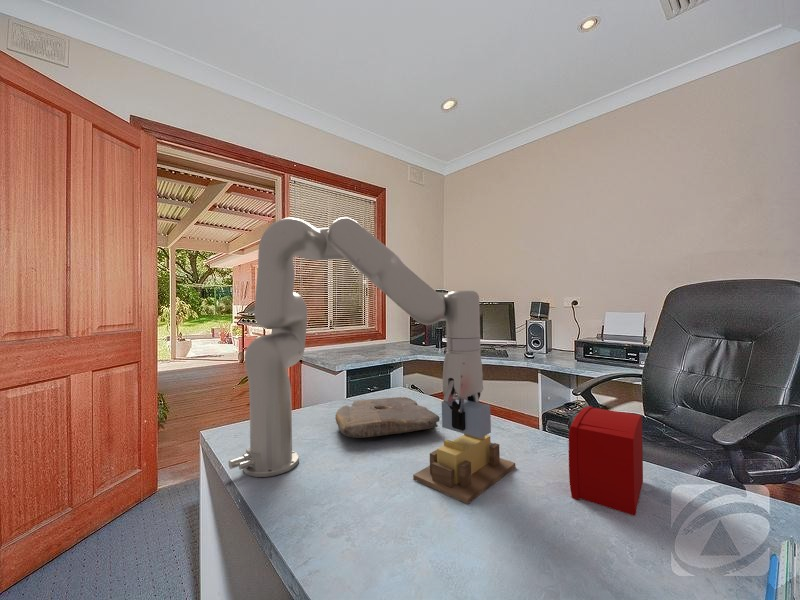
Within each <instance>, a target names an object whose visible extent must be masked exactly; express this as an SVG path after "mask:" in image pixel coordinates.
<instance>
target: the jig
mask: <svg viewBox="0 0 800 600" xmlns="http://www.w3.org/2000/svg"><path fill="white" fill-rule="evenodd" d="M490 444H491V445H490V446H489V459H490V462H489V463H488V464H486V465H485V466H483V467H482V468H480V469H479V470H477V471H476V472H474V473H473V474H472V475H471V462H469V461H467V460H466V461H464V462H462V463H461V464H459V478H460V483H458V484H457V485H456V484H454V469H452V468H449V467H447V466H444V465H441V464H439V463H437V449H436V450H433V451H431V452H430V453H429V465H428V466H427V467H425V468H424V467H423V469H421V470H419V471H417V472H416V473H414V474H412V475H413V476H412V477H413V478H412V479H413V480H414V481H417V482H418V483H421V484H423V485H424V486H427V487H430V488H432V489H433V490H436V491H438V492H440V493H443V494H445V495H447V496H449V497H451V498H453V499H456V500H458V501H460V502H461V503H464V504H466V505H468V504H470V503H472V501H474V500H475V499H476V498H478V497H479V496H480V495H482V494H483V493H484V492H485V491H487V490H488V489H489V488H491V487H493V485H494V484H496V483H497V482H498V481H500V480H501V479H502V478H504V477H505V476H506V475H507V474H509V473H510V472H511V471H513V470H514V469H515V468H516V462H514V461H511V460H508V459H504V458H502V457H500V455H501V454H500V444H499V443H498V442H497V443H496V442H490Z"/></svg>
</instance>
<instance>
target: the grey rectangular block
mask: <svg viewBox="0 0 800 600" xmlns="http://www.w3.org/2000/svg"><path fill="white" fill-rule="evenodd" d="M456 402H457V403H458V405H459V400H456ZM463 412H465V430H464V431H462V430H459V429H455V428H453V427H452V411H451V410H450V407H449V406H448V404H446V403H445V402H444V401H443V400H442V401H441V427H442V428H443V429H447V430H451V431H454V432H457V433H460V434H462V435H464V434H467V435H470V436H473V437H477V438H482V437H484V436H485V435H489V434H491V433H492V428H491V427H492V424H491V423H492V420H491V419H492V418H491V404H486V403H481V402H479V403H478V402H473V401H468V400H466V399H464V407H463Z"/></svg>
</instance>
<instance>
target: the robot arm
mask: <svg viewBox="0 0 800 600" xmlns="http://www.w3.org/2000/svg"><path fill="white" fill-rule="evenodd" d="M294 257H299V258H302V259H305V260H309V261H326V260H327V261H328V260H329V261H331V260H346V261H347V262H348V263H350V265H352V266H353V267H355V268H356V270H358V271H359V272H360V273H361V274H362V275H363V276H364V277H365V278H367V279H368V280H369V281H370V282H371V283H372V284H373V285H374V286H375V287H377V288H378V289H379V290H381V292H383V293H384V295H386V296H387V297H388V298H389V299H390V300H391V301H393V302H394V303H395V304H396V305H397V306H398V307H399V308H401V310H403V311H404V312H405V313H406V314H407V315H408V316H410V317H411V319H412V320H414V321H416V322H417V323H419V324H421V325H426V326H430V325H434V324H436V323H438V322H442V321H443V322H444V321H445V326H446V327H445V328H446V329H445V331H446V332H445V333H446V352H445V353H444V359H443V366H442V367H443V370H442V395H443V400H442V401H444V402H445V403H446V404H448V406H449V407H450V410H451V411H452V427H453V428H455V429H459V430H462V431H464V430H465V412H463V407H464V400H468V401H473V402H478V403H480V398H481V394H482V392H483V391H484V382H483V381H484V377H483V376H484V373H483V372H484V371H483V363H482V356H481V323H480V322H481V320H480V319H481V316H480V296H479V293H478V292H477V291H475V290H453V291H449V292H439V291H436V290H435V289H434V288H433V287H431V286H430V284H427V282H426V281H424V280H423V279H422V278H421V277H419V275H417V274H416V273H415V272H413V271H412V270H411V268H409V267H408V266H407V265H406V264H405V263H404V262H403V261H402V260H401V258H400V257H399V256H398V255H397V254H395V252H394V251H392V250H391V249H390V248H388V247H387V246H386V245H385V244H384V243H383V242H381V240H379V239H378V237H376V236H374V235H373V234H372V233H371V231H368V229H366V228H365V227H364V226H362V225H361V224H360V223H359V222H358V221H357V220H355V219H353V218H350V217H345V216H344V217H343V216H342V217H340V218H337V219H336V220H334V221H333V222H332V223H330V225H329V227H323V228H317V227H315V226H314V225H312V224H310V223H309V222H307V221H305V220H303V219H300V218H298V217H297V218H296V217H285V218H282V219H278V220H277V221H275V222H273V223H272V224H271V225H269V226H268V227H267V228H266V229H265V231H264V232H263V234H262V236H261V238H260V241H259V244H258V257H257V259H258V260H257V261H258V263H257V274H256V275H257V276H256V286H255V297H254V298H255V299H254V311H253V313H254V314H253V316H254V319H255V321H256V323H257V324H258V325H259V326H260V327H261V328H264V329H267V330H271V333H269V334H263V335H260V336H258V337H257V338H255V339H253V340H252V341H251V342H249V345H248V346H247V348H246V349H245V353H244V365H245V370H246V375H247V380H248V393H249V394H248V398H249V400H248V401H249V441H250V442H249V443H250V445H249V446H250V448H246V450H245V453H244V454H242V456H239V457H235V458H233V459H229V460H228V468H229V469H230V470H233V469H235V468H237V467H238V469H239V470H243V472H244V473H245V474H246V475H248V476H250V477H255V478H268V477H275V476H278V475H281V474H284V473H287V472H288V471H291V470H292V469H294V468H295V467H296V466H298V464H299V461H300V455H299V454H298V453H297V451H294V450H293V424H292V423H293V417H292V416H293V415H292V411H293V410H292V408H293V407H292V386H291V385H292V384H291V381H290V377H289V373H288V368H291V367H293V366H295V365H296V364H298V363H299V362H300V360H301V359H302V358H303V356H304V354H305V348H306V339H307V325H308V308H307V304H306V301H305V299H304V298H303V296H302V295H300V293H296V292H295V291H294V286H295V285H294V284H295V268H294ZM456 400H459V405H458V403H457V402H456Z"/></svg>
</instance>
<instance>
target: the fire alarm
mask: <svg viewBox="0 0 800 600" xmlns="http://www.w3.org/2000/svg"><path fill="white" fill-rule="evenodd" d="M643 458H644V453H643V415H641V414H635V413H630V412H624V411H617V410H610V409H605V408H598V407H594V406H592V405H591V406H590V405H589V406H585V407H583V408H582V409H581V410H580V411H578V413H577V414H576V416H574V418H573V420H572V423H571V425H570V426H569V431H568V477H569V481H568V482H569V487H570V488H569V489H570V495H571V498H572V499H573V500H577V501H579V499H580V500H582V501H586V502H590V503H593V504H596V505H599V506H602V507H606V508H609V509H612V510H615V511H617V512H621V513H625V514H627V515H632V516H634V517H636V514H637V509H638V505H639V501H640V495H641V491H642V487H643V483H644V464H643V462H644V461H643V460H644V459H643Z"/></svg>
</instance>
